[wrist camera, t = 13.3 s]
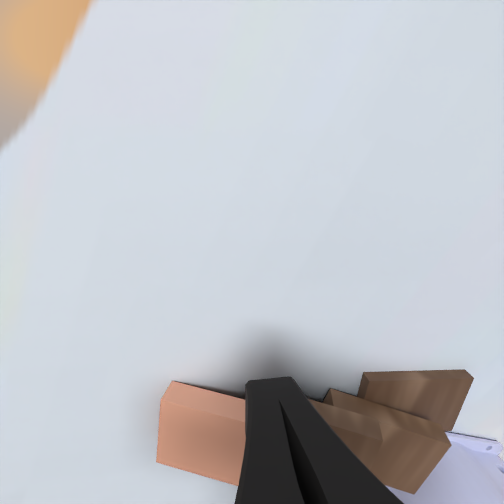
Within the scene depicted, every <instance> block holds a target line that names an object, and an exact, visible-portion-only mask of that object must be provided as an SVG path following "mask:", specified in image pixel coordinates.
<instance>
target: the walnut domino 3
mask: <svg viewBox="0 0 504 504" xmlns="http://www.w3.org/2000/svg"><path fill="white" fill-rule="evenodd" d="M323 403H324V404H328V405H331V406H335V407H338V408H341V409H345V410H348V411H352V412H355V413H358V414H362V415H365V416H369V417H372V418H375V419H378V420H379V425H380V429H381V434H382V438H383V442H382V445H381V447H380V449H379V452H378V454H377V456H376V458H375V461H374V463H373V465H372V468H371V470H370V471H371V472H372V473H373V474H374V475H375V476H376V477H377V478H378V479H379V480H380V481H381V482H382V483H383V484H384V485H386V486H389V487H392V488H395V489H398V490H401V491H404V492H407V493H410V494H415V493H416V492H417V491H418V489H419V488H420V487H421V485H422V484H423V483H424V481H425V480H426V479H427V477H428V476H429V475H430V473H431V472H432V471H433V469H434V468H435V467H436V465H437V464H438V463H439V461H440V460H441V459H442V457H443V456H444V455H445V453H446V452H447V451H448V449H449V448H450V447H451V446H452V444H451V442H450V441H449V439H448V437H447V435H446V433H445V432H444V430H443V428H442V426H441V424H438V423H435V422H432V421H429V420H426V419H423V418H420V417H417V416H414V415H411V414H408V413H405V412H402V411H398V410H395V409H392V408H389V407H386V406H383V405H380V404H377V403H374V402H371V401H368V400H365V399H362V398H359V397H356V396H353V395H350V394H347V393H344V392H341V391H337V390H334V389H331V388H330V390H329V392H328V393H327V395H326V397H325V399H324V401H323Z"/></svg>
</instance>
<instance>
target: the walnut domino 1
mask: <svg viewBox="0 0 504 504" xmlns="http://www.w3.org/2000/svg"><path fill="white" fill-rule="evenodd" d="M309 401H310V402H311V403H312V405H313V406H314V407H315V408H316V410H317V411H318V412H319V414H320V415H321V416H322V417H323V418H324V420H325V421H326V422H327V423H328V424H329V426H330V427H331V428H332V429H333V430H334V431H335V433H336V434H337V435H338V436H339V437H340V438H341V440H342V441H343V442H344V443H345V444H346V445H347V446H348V447H349V449H350V450H351V451H352V452H353V453H354V454H355V455H356V456H357V457H358V458H359V459H360V460H361V462H362V463H363V464H364V465H365V466H366V467H367V468H368V469H369V470H371V468H372V465H373V463H374V461H375V458H376V456H377V454H378V452H379V449H380V447H381V445H382V442H383V438H382V434H381V429H380V425H379V420H378V419H375V418H372V417H369V416H365V415H362V414H358V413H355V412H352V411H348V410H345V409H341V408H338V407H335V406H331V405H328V404H324V403H321V402H318V401H314V400H311V399H309Z"/></svg>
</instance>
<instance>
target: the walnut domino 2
mask: <svg viewBox="0 0 504 504" xmlns="http://www.w3.org/2000/svg"><path fill="white" fill-rule="evenodd" d="M473 379H474V378H473V377H472V376H471V375H470V374H469V373H468V372H467V371H466V370H430V371H391V372H363V375H362V379H361V383H360V387H359V390H358V394H357V397H359V398H362V399H365V400H368V401H371V402H374V403H377V404H380V405H383V406H386V407H389V408H392V409H395V410H398V411H402V412H405V413H408V414H411V415H414V416H417V417H420V418H423V419H426V420H429V421H432V422H435V423H438V424H441V426H442V428H443V430H444V431H452V429H453V426H454V424H455V422H456V419H457V417H458V415H459V412H460V410H461V407H462V405H463V403H464V400H465V398H466V396H467V393H468V391H469V389H470V386H471V384H472V382H473Z"/></svg>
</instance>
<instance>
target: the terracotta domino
mask: <svg viewBox="0 0 504 504" xmlns="http://www.w3.org/2000/svg"><path fill="white" fill-rule="evenodd" d="M245 441H246V435H245V400H244V399H240V398H236V397H232V396H229V395H225V394H221V393H217V392H213V391H209V390H205V389H202V388H198V387H194V386H190V385H186V384H182V383H179V382H175V381H172V382H171V384H170V385H169V387H168V389H167V390H166V392H165V394H164V395H163V397H162V399H161V404H160V418H159V432H158V446H157V460H156V462H157V463H161V464H164V465H168V466H171V467H174V468H178V469H181V470H185V471H188V472H192V473H195V474H198V475H202V476H205V477H209V478H212V479H216V480H219V481H222V482H226V483H229V484H233V485H236V486H238V485H239V479H240V473H241V468H242V462H243V456H244V449H245Z"/></svg>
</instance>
